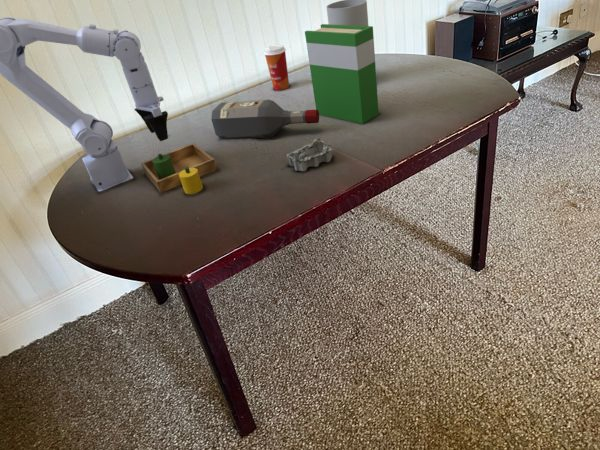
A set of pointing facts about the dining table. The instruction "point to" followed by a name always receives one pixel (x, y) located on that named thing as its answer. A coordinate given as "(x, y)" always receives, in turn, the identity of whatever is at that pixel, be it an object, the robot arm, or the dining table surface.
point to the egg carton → (310, 155)
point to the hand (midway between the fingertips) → (159, 135)
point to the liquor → (256, 118)
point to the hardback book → (343, 71)
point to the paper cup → (277, 66)
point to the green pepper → (163, 166)
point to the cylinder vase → (348, 13)
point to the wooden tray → (180, 166)
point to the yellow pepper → (190, 180)
